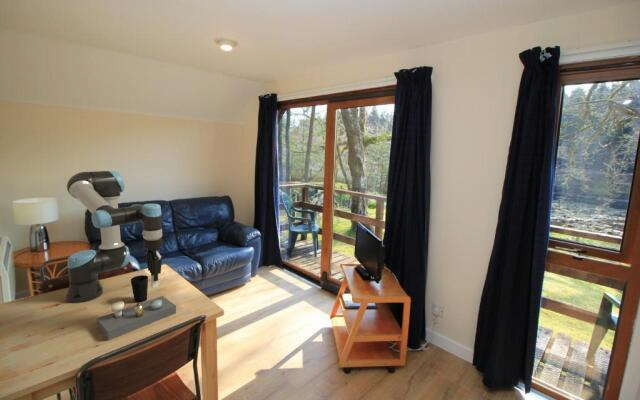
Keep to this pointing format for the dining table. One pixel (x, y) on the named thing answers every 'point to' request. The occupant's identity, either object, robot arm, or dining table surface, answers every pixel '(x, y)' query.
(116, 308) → the knob
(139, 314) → the trim post
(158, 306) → the knob
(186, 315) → the dining table surface
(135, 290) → the cup
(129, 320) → the panel
